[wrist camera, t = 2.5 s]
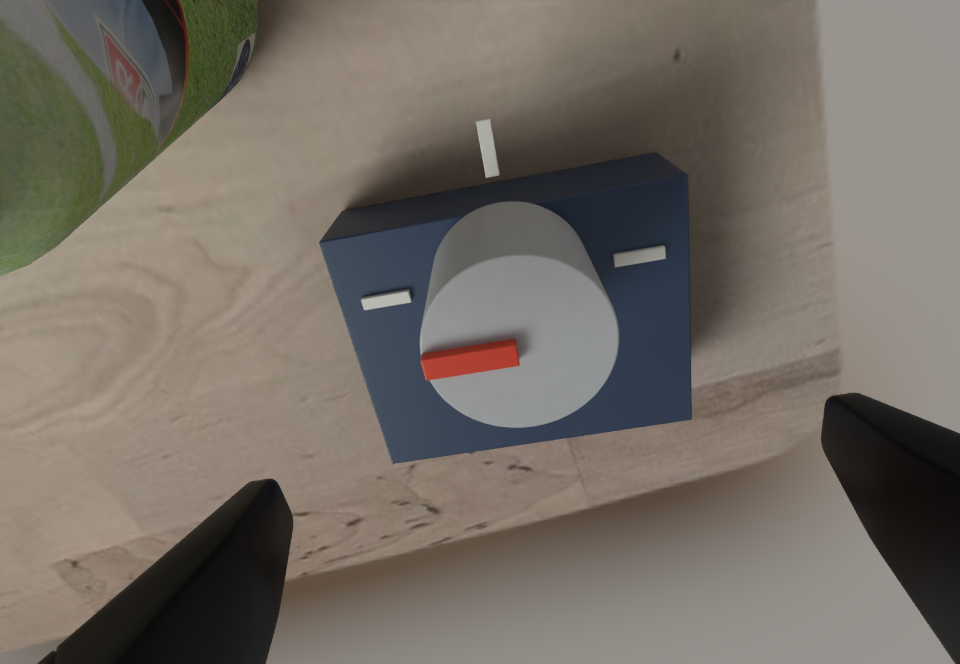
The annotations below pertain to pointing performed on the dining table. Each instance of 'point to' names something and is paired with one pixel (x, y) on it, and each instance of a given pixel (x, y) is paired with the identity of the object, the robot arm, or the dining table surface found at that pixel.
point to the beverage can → (101, 101)
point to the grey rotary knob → (516, 318)
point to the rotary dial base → (613, 252)
